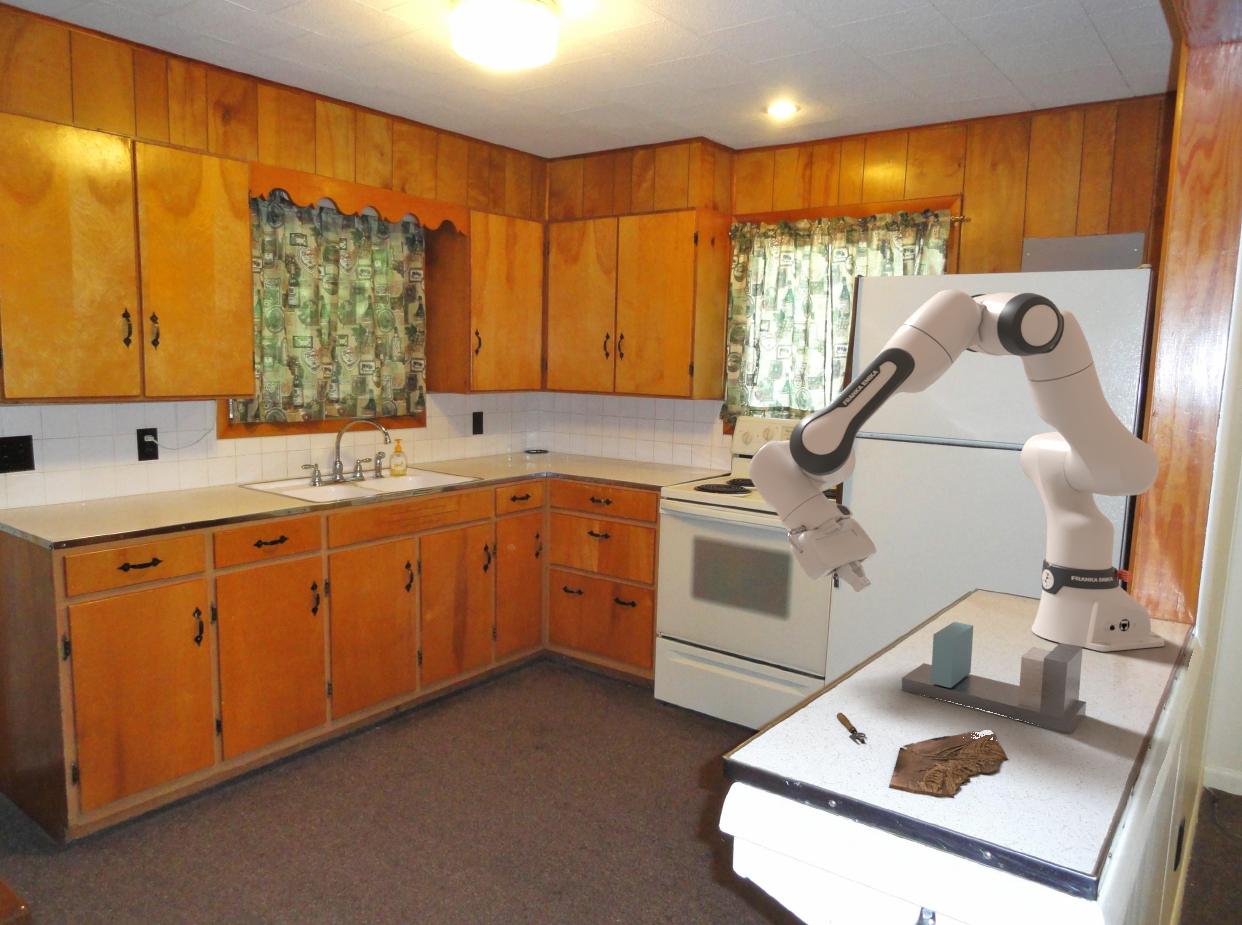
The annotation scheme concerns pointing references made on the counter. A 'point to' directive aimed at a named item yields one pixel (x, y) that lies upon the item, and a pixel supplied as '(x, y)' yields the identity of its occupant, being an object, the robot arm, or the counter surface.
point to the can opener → (850, 728)
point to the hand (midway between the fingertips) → (864, 588)
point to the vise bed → (1016, 691)
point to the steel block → (1032, 677)
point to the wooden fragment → (945, 763)
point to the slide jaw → (951, 654)
